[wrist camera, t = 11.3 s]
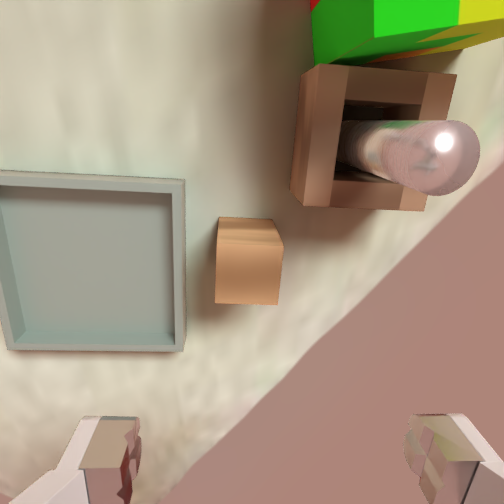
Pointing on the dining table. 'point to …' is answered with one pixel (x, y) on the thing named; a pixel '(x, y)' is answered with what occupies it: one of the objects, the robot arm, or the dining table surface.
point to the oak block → (248, 261)
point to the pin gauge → (412, 152)
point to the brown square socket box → (329, 123)
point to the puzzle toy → (400, 28)
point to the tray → (92, 262)
